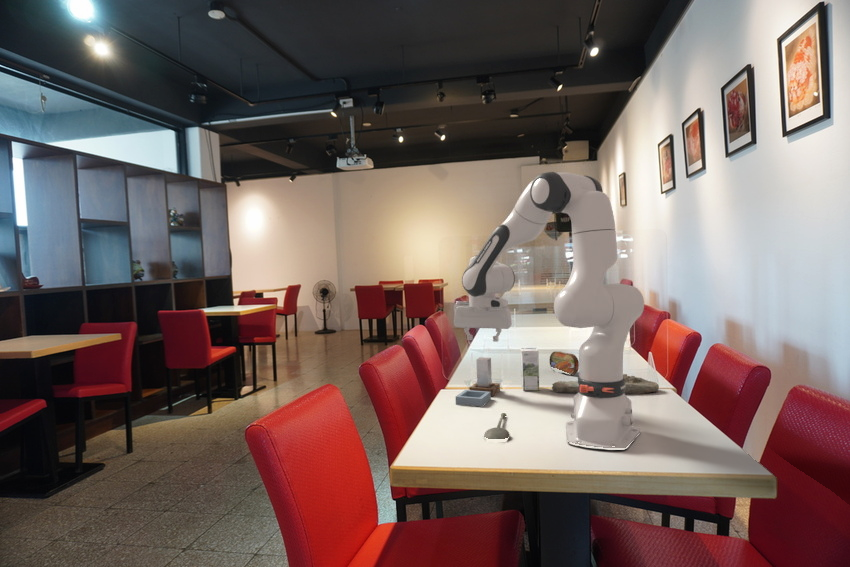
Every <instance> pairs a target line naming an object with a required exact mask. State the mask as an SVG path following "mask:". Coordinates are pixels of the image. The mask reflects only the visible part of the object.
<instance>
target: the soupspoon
mask: <svg viewBox="0 0 850 567" xmlns="http://www.w3.org/2000/svg"><path fill="white" fill-rule="evenodd" d="M505 416H507V417H508V415H507V413H505V412H502V413H501V414H500V418H499V420H498V423H497V426H496V427H491V428H489V429H487V430H486V431H485V432H484V434H483V435H484V436H483V437H486V438H488V439H505V438H508V437H509V438H510V432H509V431H508V430H507V429H506V428H502V427H501V426H502V422H503V419H505V418H506V417H505ZM504 417H505V418H504Z"/></svg>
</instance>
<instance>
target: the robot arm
mask: <svg viewBox="0 0 850 567" xmlns="http://www.w3.org/2000/svg"><path fill="white" fill-rule="evenodd" d="M602 187H603V186H602V185H601V183H600V182H599V181H598V180H597V179H595V178H594V177H592V176H589V175H581V174H577V173H572V172H566V171H565V172H562V171H561V172H556V171H548V172H547V171H546V172H543V173H541V174H539V175H537V176H536V177H535V178H534V179H533V180H532V181H530V182H529V183H528V185H526V187H525V188H524V190H523V191H522V192H521V194H520V196H519V198H518V199H517V201H516V203H515V204H514V207H513V209H512V210H511V212H510V213H509V215H508V216H507V218H506V219H505V220H504V221H503V222H502V223H500V225H498V226H497V228H495V229H494V230H493V231H492V233H491V234H490V236H489V237H488V239H487V240H486V242H485V243H484V245H483V246H482V248H480V251H479V252H478V254H476V255H473V256H472V257H470V259H469V262H468V266H467V267H466V268H465V270H464V271H463V273H462V277H461V283H462V287H463V289H464V290H465V292H466V293H468V300H467V301H466V300H464V301H461V300H458V301H456V302H455V303H454V305H453V312H454V318H453V325H454V327H455V328H463V331H464V334H465V335H466V339H467V341H473V339H474V337H473V336H474V335H473V334H471V332H470V329H492V330H493V329H495V332H497V333H496V335H494V336H492V341H493V342H494V343H495V342H497V343H498V342H499V339H500V338H499V336H500V335H501V332H502V330H508V329H510V328H511V326H512V324H513V322H512V321H513V320H512V313H511V310H510V308H509V307H508V305H509V301H508V299H506V298H503V297H500V296H496V295H495V294H503V293H507V292H511V290H512V289H513V287H514V285H515V282H516V276H515V272H514V270H513V269H512V267H511V266H509V265H507V264H504V263H501V262H499V261H498V260H499V258H500V257H501V255H503V254H504V253H505V252H507V250H510V249H511V248H514V247H517V246H520V245H522V244H526V243H529V242H532V241H534V240H536V239H537V238H538V237H539V236H540V235H541V234H542V233H543V231H544V229H545V228H546V226H547V224H548V222H549V220H550V218H551V217H552V214H553V213H555V214H560V213H562V214H566V215H568V217H569V218H570V221H571V234H572V235H571V236H572V259H573V260H572V269H571V272H570V276H569V278H568V280H567V282H566V284H565V286H564V287H563V288H562V289H560V291H559V292H558V293H557V295H556V296H555V299H554V302H553V311H554V316H555V317H556V319H557V320H558V322H559V323H560V324H561V325H562V326H565V327H569V328H576V329H583V328H586V329H587V328H593V329H592V331H591V334H590V336H589V338H588V339H587V340H585V341H584V342H583V343H582V344H581V345H580V347H579V350H578V361H579V368H578V371H579V373H578V374H579V376H578V377H577V381H578V382H577V385H578V393H575V395H574V396H573V413H571V415H570V417H571V419H573V420H571V421H567V422H566V424H565V429H567V432H566V439H568V441H569V442H572V443H575V444H579V445H586V446H594V447H603V448H626V447H627V446H628V445H629V444H630V443H631V442H632V441H633V440H634V439H635V437H636V436H637V435H638V434H639V433H640V434H641V428H638V427H636V426H634V424H633V406H632V400H631V399H630V398H629V397H628V396H627V394H624V393H625V379H624V378H623V374H624V350H625V345H626V341H627V337H628V335H629V333H630V330H631V328H632V326H633V325H634V323H635V322H636V321H637V320H638V319H639V318H640V317H641V316H642V314H643V312H644V308H645V298H644V296H643V293H642V292H641V290H639V289H638V287H636V286H633V285H630V284H626V283H625V284H624V283H607V284H606V283H605V276H606V274H607V272H608V270H609V269H610V268H611V267H613V266H614V265H615V264H616V263H617V261H618V258H619V256H618V245H617V232H616V231H617V230H616V223H615V214H614V211H613V206H612V204H611V201H610V198H609V196H608V195H607V194H606V193H605V192H603V188H602ZM604 283H605V284H604ZM640 434H639V435H640ZM635 440H636V439H635ZM635 440H634V441H635ZM578 442H580V443H578ZM612 446H615V447H612Z"/></svg>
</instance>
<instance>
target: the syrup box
mask: <svg viewBox="0 0 850 567" xmlns="http://www.w3.org/2000/svg"><path fill="white" fill-rule="evenodd" d="M539 360H540V358H539V350H538V348H537V347H520V365H521V366H520V373H521V375H520V376H521V388H522V391H524V392H525V391H526V392H531V391H536V392H538V391H540V364H539V363H540V362H539Z"/></svg>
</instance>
